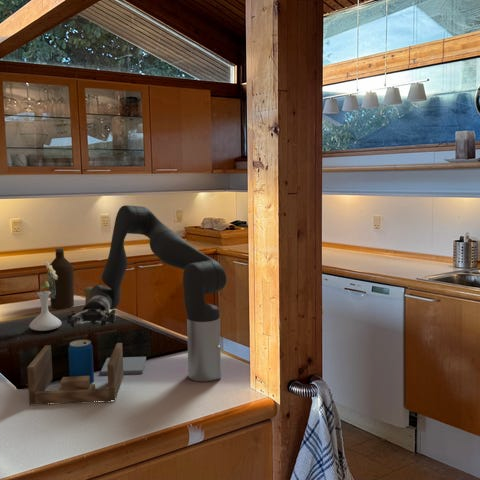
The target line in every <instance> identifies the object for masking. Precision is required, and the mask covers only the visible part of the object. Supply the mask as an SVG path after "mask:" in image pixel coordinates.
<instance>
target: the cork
mask: <svg viewBox="0 0 480 480" xmlns="http://www.w3.org/2000/svg"><path fill="white" fill-rule="evenodd" d="M93 287H94V286H88V287H85V288H84V295H85V302H84V303H85V304H84V306H85V305H86V304H87V302H88V301H89V300H90V299H89V297H90V292H91V290H92V288H93Z"/></svg>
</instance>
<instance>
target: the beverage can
mask: <svg viewBox="0 0 480 480" xmlns="http://www.w3.org/2000/svg"><path fill="white" fill-rule="evenodd" d="M67 349H68V366H69V368H68V369H69V377H74V376H90V384H94V382H95V373H94V370H95V369H94V353H93V352H94V349H93V344H92V341H91V340H90V339H76V340H73V341H71V342H69V346H68V348H67Z"/></svg>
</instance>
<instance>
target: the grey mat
mask: <svg viewBox="0 0 480 480" xmlns="http://www.w3.org/2000/svg"><path fill="white" fill-rule="evenodd" d="M109 360H110V357H107V358H106V360H105V362H103V363H104V364H103V366H102V368H101V370H100V376H105V375H107V376H108V370H107V364H108V362H109ZM146 362H147V356H125V357H124V356H123V375H132V374H133V375H134V374H135V375H136V374H137V375H138V374H143V373H144V371H145V370H144V369H145V365H146Z"/></svg>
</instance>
